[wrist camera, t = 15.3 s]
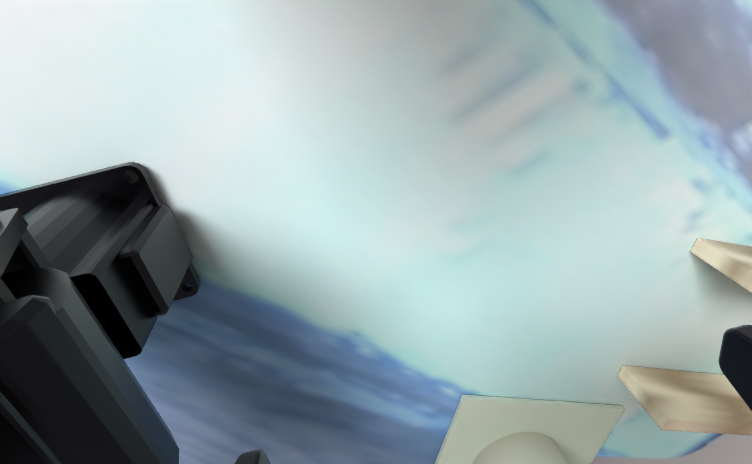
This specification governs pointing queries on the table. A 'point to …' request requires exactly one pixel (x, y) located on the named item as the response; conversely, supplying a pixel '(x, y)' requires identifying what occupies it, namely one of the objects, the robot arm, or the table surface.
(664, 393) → the frame
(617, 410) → the sage mat
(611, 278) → the table surface
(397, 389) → the table surface
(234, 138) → the table surface
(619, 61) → the table surface
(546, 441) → the rounded top cylinder
